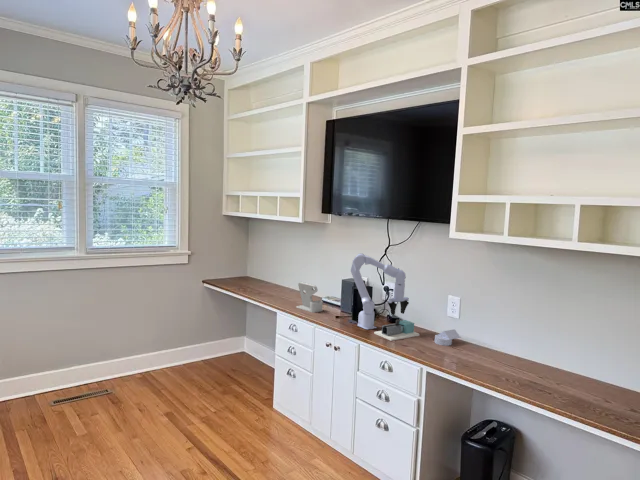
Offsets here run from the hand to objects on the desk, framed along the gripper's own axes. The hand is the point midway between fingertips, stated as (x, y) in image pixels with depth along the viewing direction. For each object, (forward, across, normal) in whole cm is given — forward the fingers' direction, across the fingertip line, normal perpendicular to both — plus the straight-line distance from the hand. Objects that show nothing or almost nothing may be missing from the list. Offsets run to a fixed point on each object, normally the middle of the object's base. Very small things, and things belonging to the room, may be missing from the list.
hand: (397, 313), depth 260 cm
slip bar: (+8, -2, -6) cm, 10 cm away
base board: (+10, -6, -6) cm, 13 cm away
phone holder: (+10, -21, +61) cm, 66 cm away
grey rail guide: (+9, -10, -6) cm, 15 cm away
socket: (+9, +1, -6) cm, 11 cm away
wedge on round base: (+10, +10, -28) cm, 31 cm away
